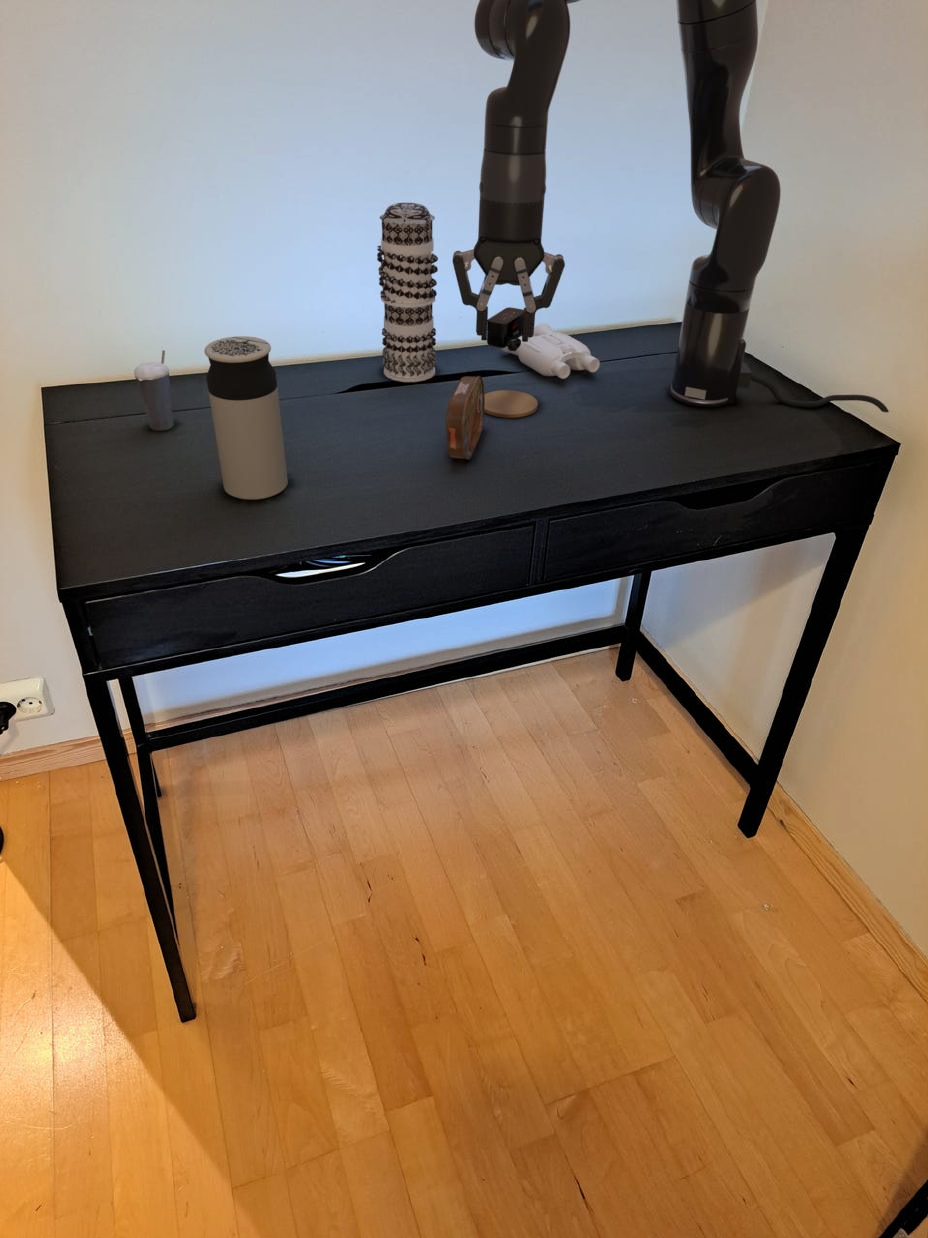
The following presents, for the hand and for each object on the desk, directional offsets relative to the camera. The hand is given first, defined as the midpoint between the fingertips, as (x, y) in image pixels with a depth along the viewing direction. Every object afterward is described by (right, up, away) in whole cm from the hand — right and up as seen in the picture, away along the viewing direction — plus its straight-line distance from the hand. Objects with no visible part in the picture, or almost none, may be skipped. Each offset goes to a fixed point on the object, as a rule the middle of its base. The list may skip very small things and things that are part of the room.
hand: (504, 338), depth 114 cm
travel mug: (-31, -19, 0) cm, 37 cm away
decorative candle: (-14, +4, +32) cm, 35 cm away
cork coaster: (+2, -3, +22) cm, 22 cm away
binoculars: (+9, +6, +36) cm, 37 cm away
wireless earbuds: (+1, -1, +1) cm, 1 cm away
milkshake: (-48, -8, +14) cm, 51 cm away
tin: (-5, -12, +11) cm, 17 cm away
